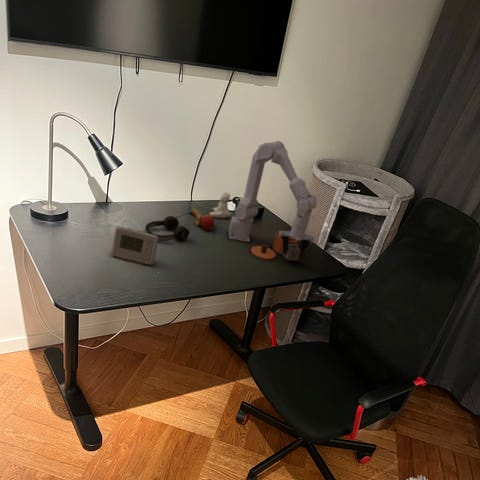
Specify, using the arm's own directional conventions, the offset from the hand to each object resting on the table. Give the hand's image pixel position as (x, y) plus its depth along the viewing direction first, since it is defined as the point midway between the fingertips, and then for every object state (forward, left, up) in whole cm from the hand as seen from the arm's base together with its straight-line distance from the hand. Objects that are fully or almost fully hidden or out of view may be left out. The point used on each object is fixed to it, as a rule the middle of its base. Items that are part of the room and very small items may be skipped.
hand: (290, 254), depth 200 cm
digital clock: (-63, -19, -4) cm, 66 cm away
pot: (-1, +10, -4) cm, 11 cm away
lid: (-11, +3, -3) cm, 12 cm away
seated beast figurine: (-29, +36, -4) cm, 47 cm away
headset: (-52, +6, -4) cm, 52 cm away
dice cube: (0, 0, -2) cm, 2 cm away
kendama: (-38, +24, -4) cm, 45 cm away
